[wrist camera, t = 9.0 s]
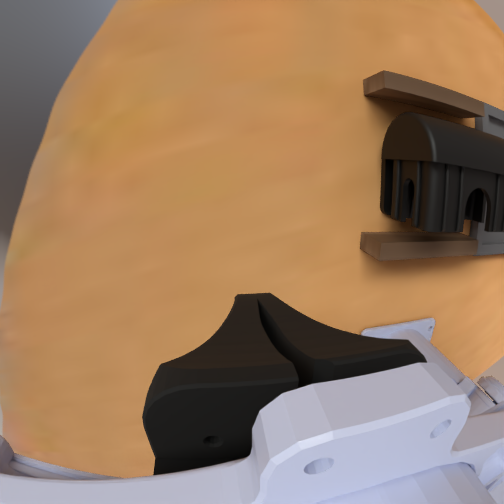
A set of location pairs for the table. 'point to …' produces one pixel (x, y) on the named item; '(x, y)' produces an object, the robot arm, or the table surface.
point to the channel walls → (437, 100)
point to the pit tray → (489, 242)
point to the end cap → (442, 174)
